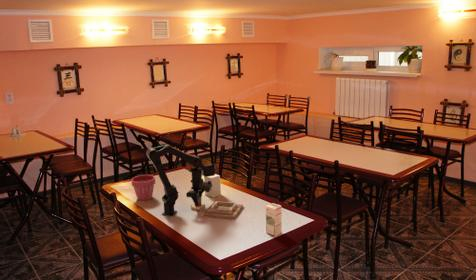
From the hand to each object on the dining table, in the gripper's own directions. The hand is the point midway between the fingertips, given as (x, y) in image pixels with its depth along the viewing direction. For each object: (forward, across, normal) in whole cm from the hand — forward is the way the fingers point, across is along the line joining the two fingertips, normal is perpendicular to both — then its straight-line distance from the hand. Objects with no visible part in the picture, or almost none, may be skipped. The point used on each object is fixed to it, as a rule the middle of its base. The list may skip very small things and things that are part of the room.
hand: (197, 203), depth 247 cm
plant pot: (+3, +9, +39) cm, 40 cm away
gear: (+2, 0, 0) cm, 2 cm away
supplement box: (+3, +23, -1) cm, 23 cm away
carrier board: (+2, -2, -16) cm, 16 cm away
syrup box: (+3, -23, -49) cm, 54 cm away
